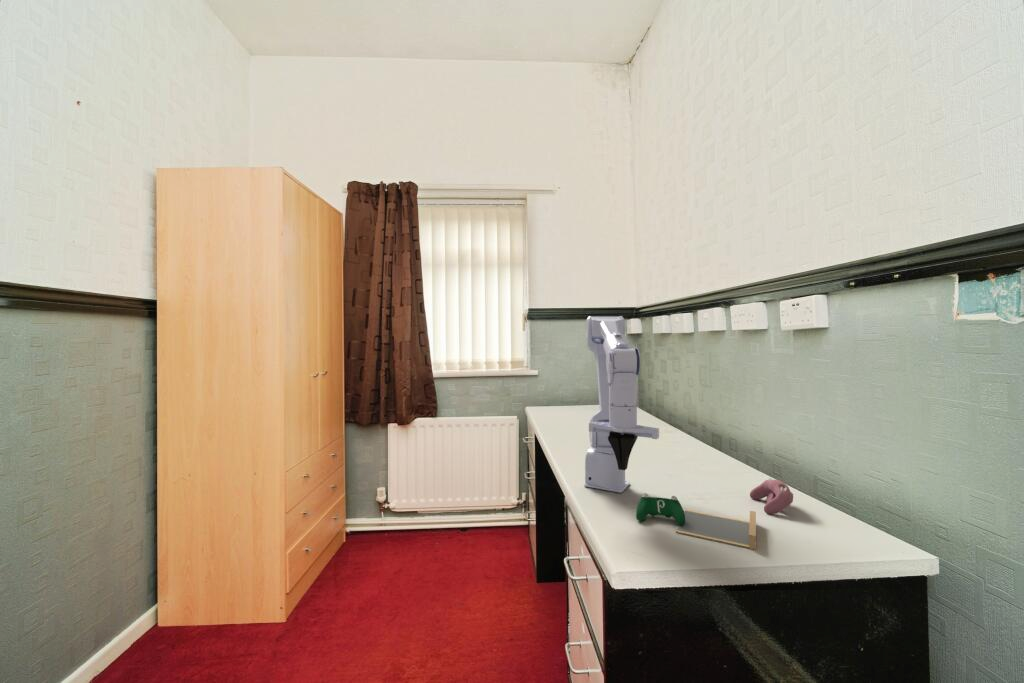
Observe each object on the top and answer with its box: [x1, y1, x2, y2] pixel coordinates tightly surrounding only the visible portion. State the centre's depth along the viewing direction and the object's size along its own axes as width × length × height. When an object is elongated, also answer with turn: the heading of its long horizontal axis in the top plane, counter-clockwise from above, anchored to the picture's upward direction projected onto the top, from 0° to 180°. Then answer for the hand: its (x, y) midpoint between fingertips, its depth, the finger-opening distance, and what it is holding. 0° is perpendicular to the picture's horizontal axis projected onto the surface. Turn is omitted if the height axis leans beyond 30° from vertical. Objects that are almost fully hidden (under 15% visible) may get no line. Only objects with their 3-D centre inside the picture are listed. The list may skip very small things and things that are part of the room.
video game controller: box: [749, 477, 794, 515], centre depth 92 cm, size 10×5×7 cm, turn 168°
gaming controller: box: [635, 492, 685, 526], centre depth 86 cm, size 9×4×6 cm
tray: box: [676, 509, 757, 550], centre depth 81 cm, size 13×12×2 cm
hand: (622, 468), depth 90 cm, fingers closed
